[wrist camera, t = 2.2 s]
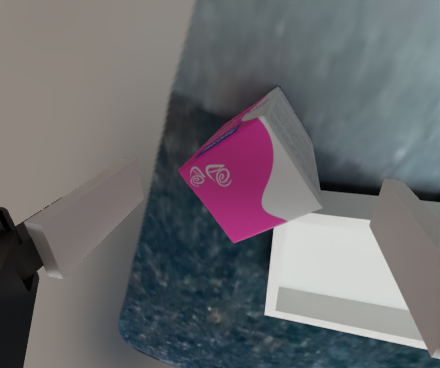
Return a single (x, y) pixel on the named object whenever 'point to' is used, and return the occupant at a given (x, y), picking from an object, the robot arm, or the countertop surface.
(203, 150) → the supplement box
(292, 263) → the tray
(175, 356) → the countertop surface
